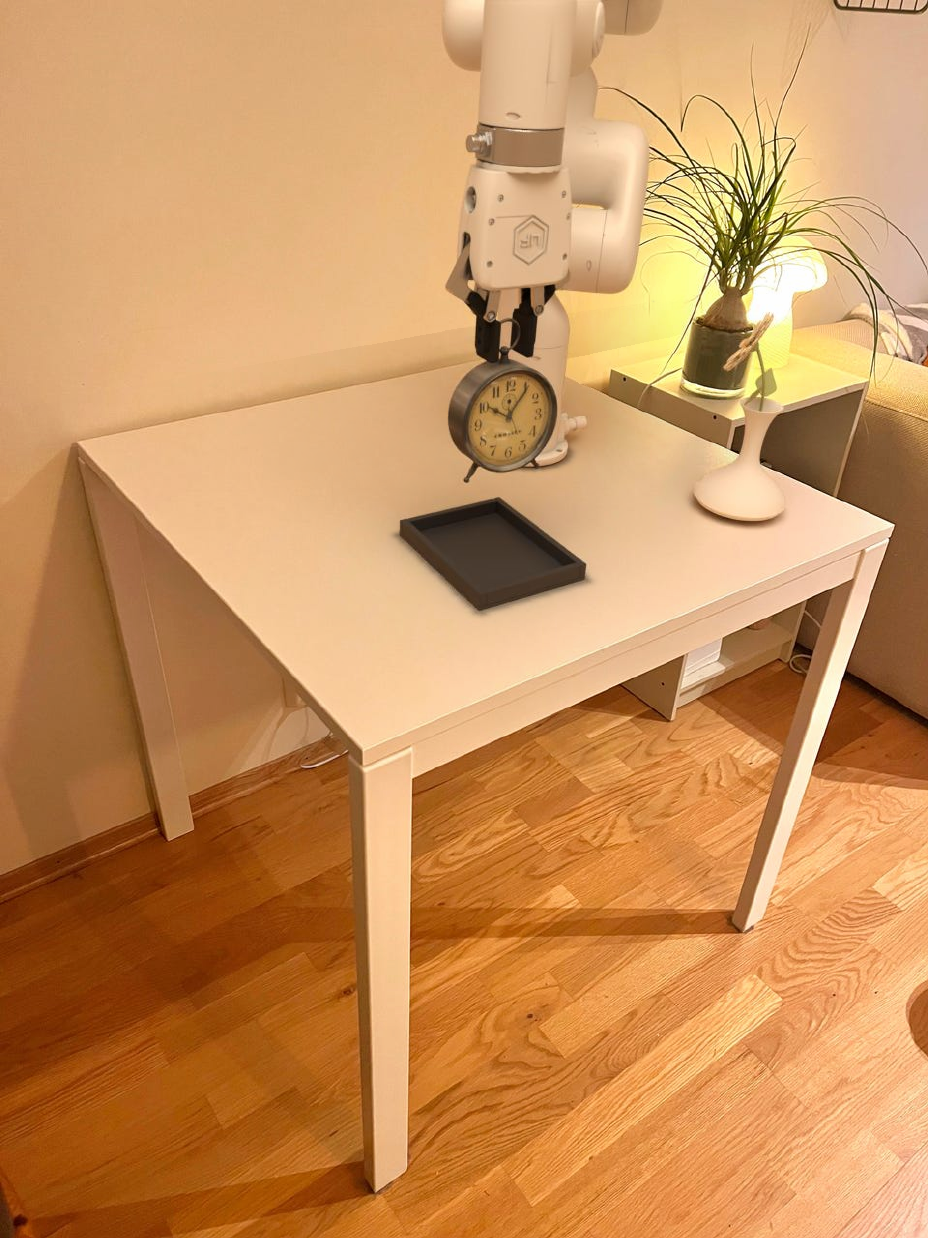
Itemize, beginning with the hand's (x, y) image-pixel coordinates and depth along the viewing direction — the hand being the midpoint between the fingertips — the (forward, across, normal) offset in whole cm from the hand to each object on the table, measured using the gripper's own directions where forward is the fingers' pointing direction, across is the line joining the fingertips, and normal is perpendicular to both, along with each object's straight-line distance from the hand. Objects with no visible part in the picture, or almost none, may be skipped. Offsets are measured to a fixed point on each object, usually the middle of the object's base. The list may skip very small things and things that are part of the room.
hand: (504, 354), depth 90 cm
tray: (+23, 0, 0) cm, 23 cm away
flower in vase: (+23, +34, -4) cm, 41 cm away
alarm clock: (+13, 0, 0) cm, 13 cm away
